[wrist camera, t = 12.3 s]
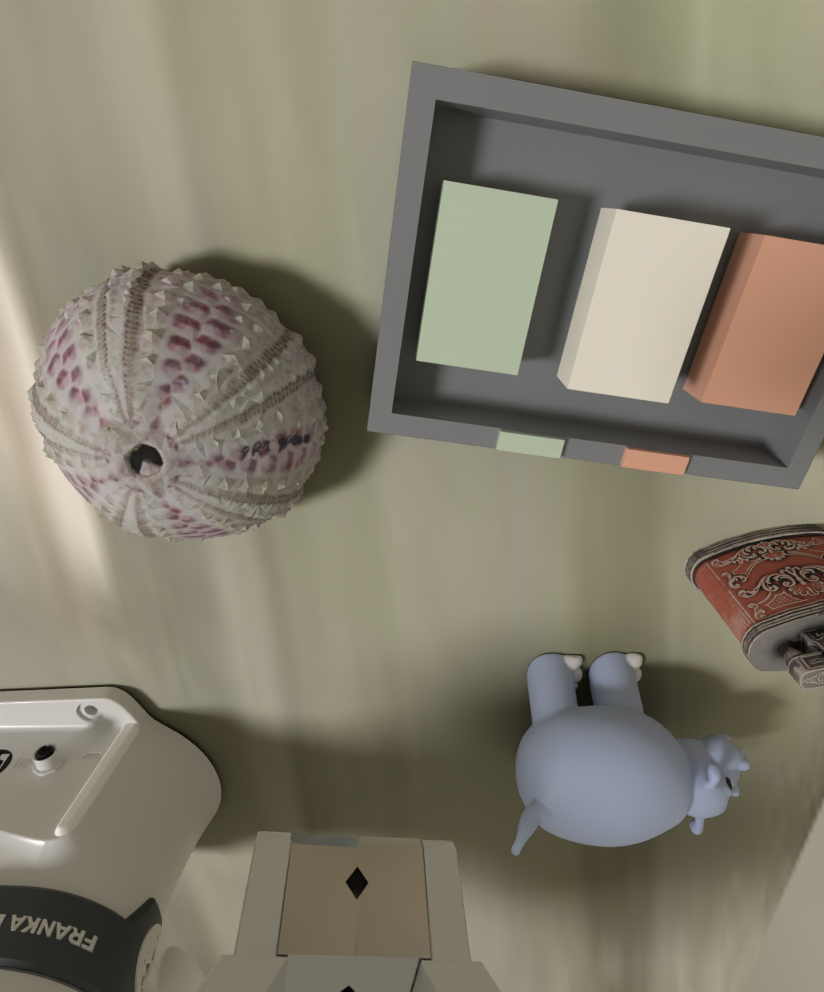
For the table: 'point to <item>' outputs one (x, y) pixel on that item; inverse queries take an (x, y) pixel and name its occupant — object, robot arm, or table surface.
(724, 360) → the terracotta key
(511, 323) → the sage key
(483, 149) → the grey tray
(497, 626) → the table surface
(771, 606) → the lighter
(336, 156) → the table surface
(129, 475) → the sea urchin shell
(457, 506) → the table surface
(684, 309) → the cream key
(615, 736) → the hippopotamus toy
